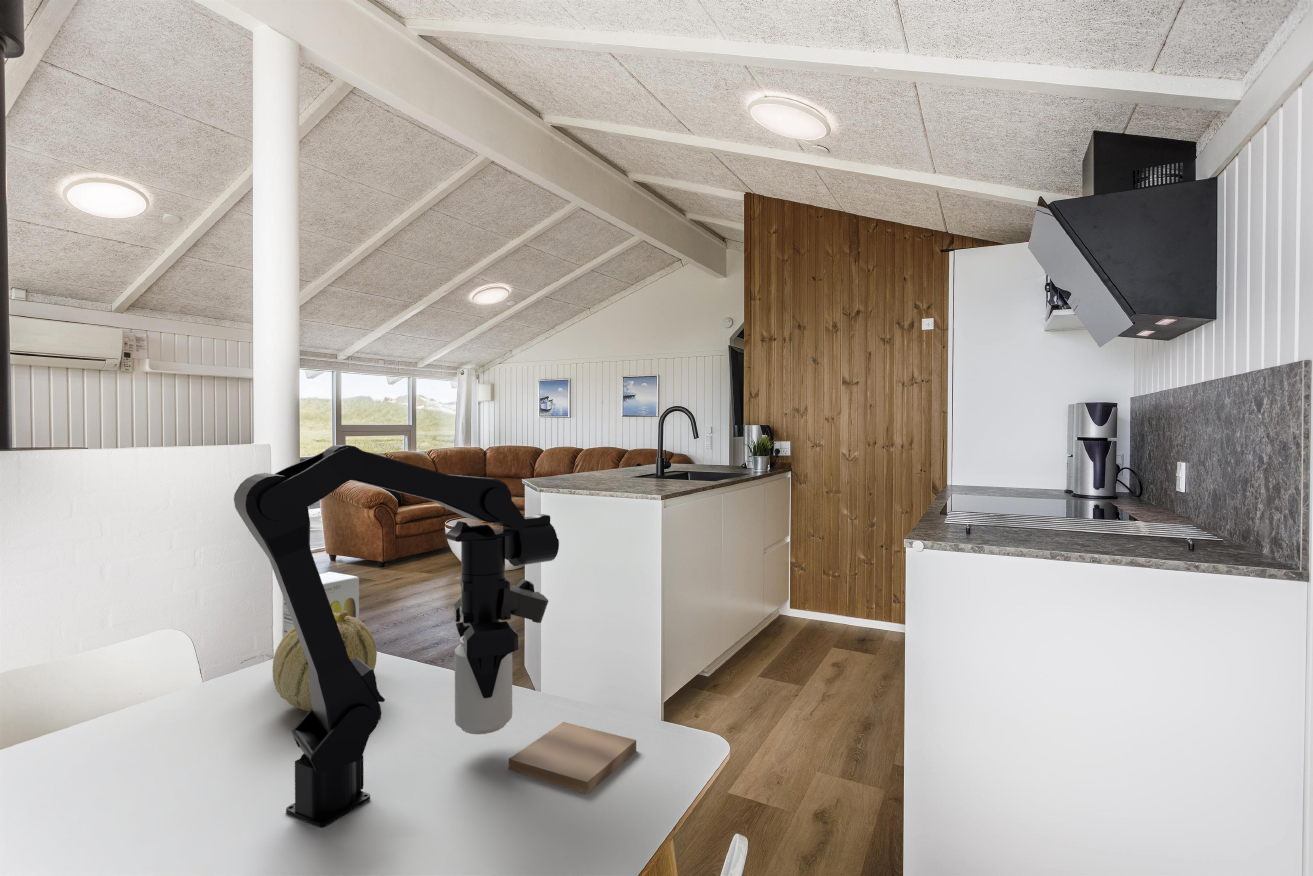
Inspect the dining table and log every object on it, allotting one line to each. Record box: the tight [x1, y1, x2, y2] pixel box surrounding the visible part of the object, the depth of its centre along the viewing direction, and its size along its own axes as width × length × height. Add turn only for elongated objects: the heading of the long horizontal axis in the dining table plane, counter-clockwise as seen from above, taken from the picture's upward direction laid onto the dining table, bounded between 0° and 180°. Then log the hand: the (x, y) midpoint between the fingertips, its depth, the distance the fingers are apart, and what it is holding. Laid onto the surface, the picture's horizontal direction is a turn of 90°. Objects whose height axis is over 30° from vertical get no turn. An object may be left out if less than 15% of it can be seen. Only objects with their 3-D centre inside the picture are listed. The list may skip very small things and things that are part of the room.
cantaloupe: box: [271, 611, 378, 712], centre depth 103 cm, size 15×15×15 cm
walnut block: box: [508, 721, 637, 795], centre depth 87 cm, size 12×12×2 cm
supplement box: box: [282, 571, 360, 638], centre depth 119 cm, size 10×9×17 cm
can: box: [454, 636, 513, 735], centre depth 89 cm, size 8×8×12 cm
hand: (483, 686), depth 89 cm, fingers closed on can, 7 cm apart
